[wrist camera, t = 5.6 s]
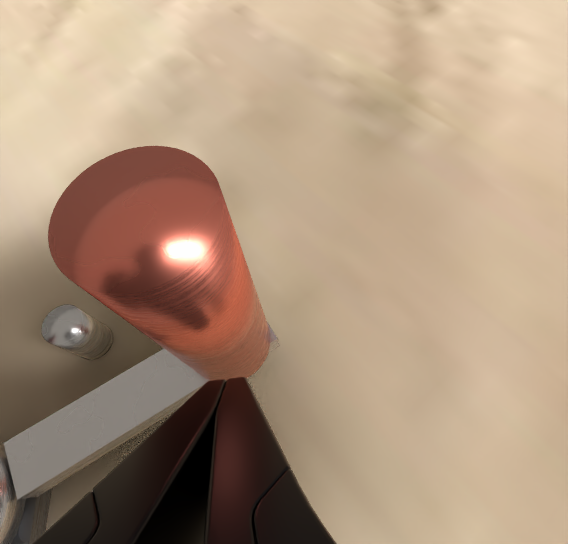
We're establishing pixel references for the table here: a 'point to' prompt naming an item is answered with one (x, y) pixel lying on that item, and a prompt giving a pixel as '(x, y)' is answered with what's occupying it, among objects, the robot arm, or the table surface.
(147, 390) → the lever
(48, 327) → the base
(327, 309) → the table surface
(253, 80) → the table surface
